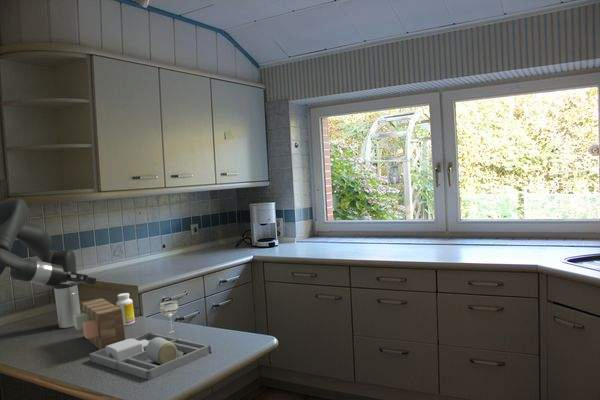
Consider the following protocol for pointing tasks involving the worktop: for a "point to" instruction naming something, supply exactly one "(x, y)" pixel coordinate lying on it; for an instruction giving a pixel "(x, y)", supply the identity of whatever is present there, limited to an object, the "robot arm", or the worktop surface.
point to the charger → (125, 348)
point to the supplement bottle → (126, 308)
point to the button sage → (80, 320)
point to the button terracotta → (90, 329)
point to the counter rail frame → (142, 368)
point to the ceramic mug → (162, 351)
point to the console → (105, 322)
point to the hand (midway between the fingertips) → (89, 282)
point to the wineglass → (169, 309)
